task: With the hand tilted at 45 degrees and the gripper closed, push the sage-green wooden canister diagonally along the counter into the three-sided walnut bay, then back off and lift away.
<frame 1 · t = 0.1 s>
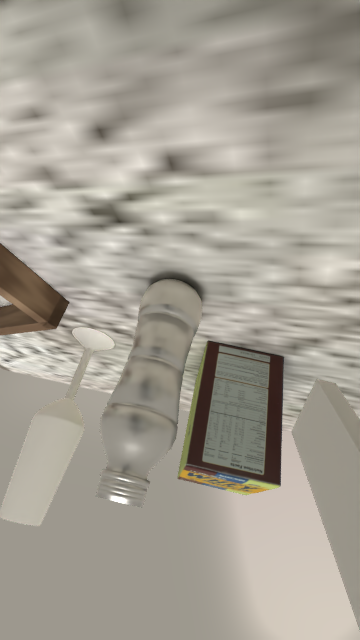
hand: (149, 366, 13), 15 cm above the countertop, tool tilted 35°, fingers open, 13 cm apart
protein box: (234, 369, 47), on the countertop
champagne flute: (94, 337, 48), on the countertop
plastic bottle: (176, 289, 34), on the countertop
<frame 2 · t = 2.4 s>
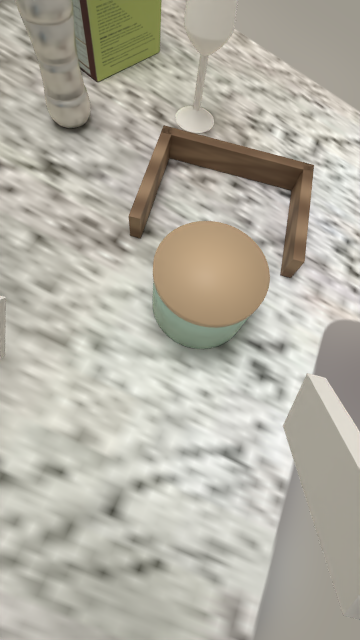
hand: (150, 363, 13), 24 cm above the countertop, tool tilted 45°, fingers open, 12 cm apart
protein box: (111, 53, 58), on the countertop
green canister: (199, 304, 40), on the countertop
walnut bay: (221, 212, 46), on the countertop
champagne flute: (194, 120, 53), on the countertop
plastic bottle: (72, 121, 50), on the countertop
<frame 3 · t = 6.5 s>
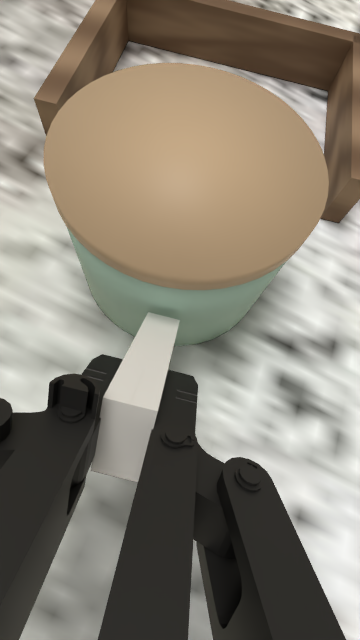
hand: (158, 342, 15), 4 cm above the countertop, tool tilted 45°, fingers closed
green canister: (174, 262, 22), on the countertop, touching gripper
walnut bay: (213, 119, 27), on the countertop
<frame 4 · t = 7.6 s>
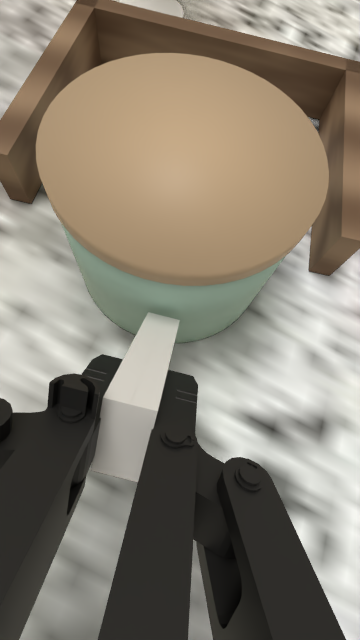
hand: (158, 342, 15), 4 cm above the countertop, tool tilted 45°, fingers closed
green canister: (172, 258, 21), on the countertop, touching gripper
walnut bay: (193, 156, 25), on the countertop
champagne flute: (150, 11, 32), on the countertop
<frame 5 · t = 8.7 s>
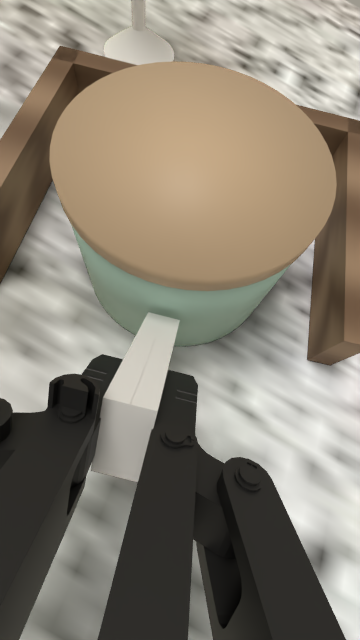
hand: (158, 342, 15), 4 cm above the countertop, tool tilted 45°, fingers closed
green canister: (179, 262, 21), on the countertop, touching gripper
walnut bay: (181, 223, 23), on the countertop
champagne flute: (139, 54, 30), on the countertop
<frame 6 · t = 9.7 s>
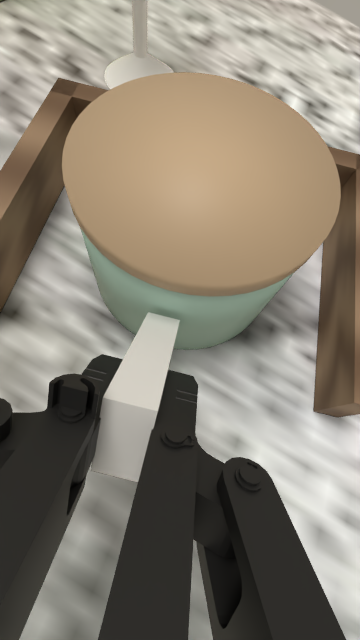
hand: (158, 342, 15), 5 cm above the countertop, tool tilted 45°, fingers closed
green canister: (184, 267, 22), on the countertop, touching gripper
walnut bay: (182, 261, 22), on the countertop
champagne flute: (140, 80, 29), on the countertop
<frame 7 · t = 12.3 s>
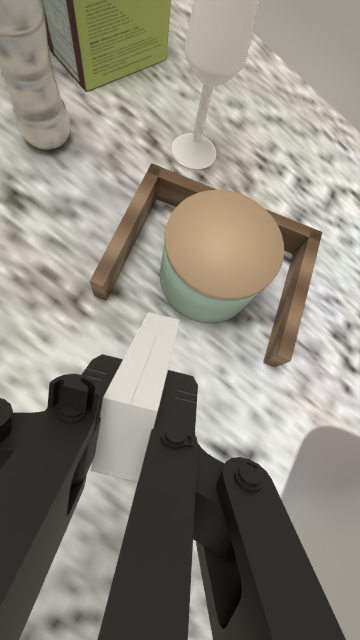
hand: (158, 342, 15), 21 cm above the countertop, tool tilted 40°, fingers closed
protein box: (109, 56, 49), on the countertop
green canister: (207, 278, 40), on the countertop
walnut bay: (206, 275, 39), on the countertop
champagne flute: (193, 151, 46), on the countertop
plastic bottle: (49, 139, 43), on the countertop
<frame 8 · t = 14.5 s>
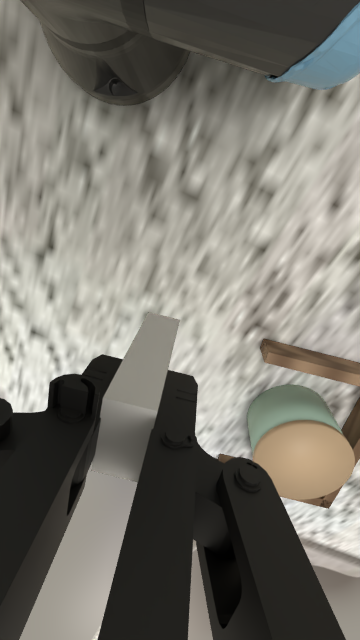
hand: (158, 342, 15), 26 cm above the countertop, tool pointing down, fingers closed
green canister: (287, 418, 47), on the countertop
walnut bay: (289, 418, 47), on the countertop
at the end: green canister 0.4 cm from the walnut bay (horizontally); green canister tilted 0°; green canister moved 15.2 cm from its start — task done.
